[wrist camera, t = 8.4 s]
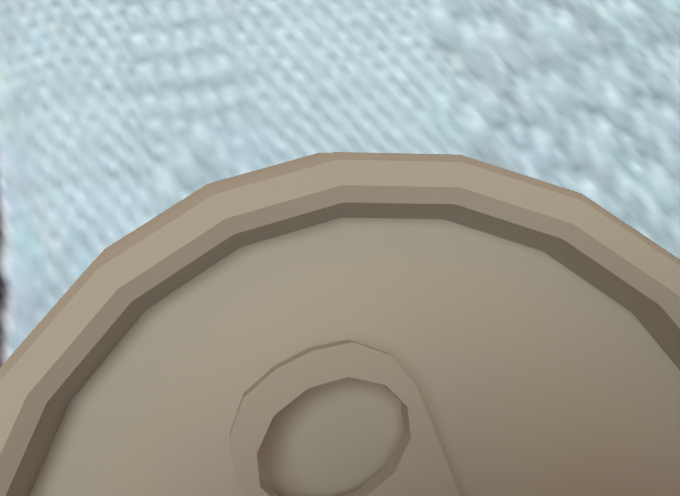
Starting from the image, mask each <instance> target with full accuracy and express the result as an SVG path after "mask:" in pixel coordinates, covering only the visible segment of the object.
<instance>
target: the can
mask: <svg viewBox="0 0 680 496" xmlns="http://www.w3.org/2000/svg"><path fill="white" fill-rule="evenodd" d="M0 496H680V259H678V258H677V257H675V256H674V255H672V254H671V253H669V252H668V251H666V250H665V249H663V248H662V247H660V246H659V245H657V244H656V243H655V242H653V241H652V240H650V239H649V238H647V237H646V236H644V235H643V234H641V233H640V232H638V231H637V230H635V229H634V228H632V227H631V226H629V225H628V224H626V223H625V222H623V221H622V220H620V219H619V218H617V217H616V216H614V215H613V214H611V213H610V212H608V211H607V210H605V209H604V208H602V207H601V206H599V205H598V204H596V203H595V202H593V201H592V200H590V199H589V198H587V197H586V196H584V195H583V194H581V193H578V192H575V191H572V190H569V189H565V188H562V187H559V186H556V185H553V184H550V183H547V182H544V181H541V180H537V179H534V178H531V177H528V176H525V175H522V174H519V173H516V172H513V171H509V170H506V169H503V168H500V167H497V166H494V165H491V164H488V163H485V162H481V161H478V160H475V159H472V158H469V157H466V156H463V155H446V154H399V153H352V152H333V153H317V154H313V155H310V156H306V157H303V158H299V159H295V160H292V161H288V162H285V163H281V164H278V165H274V166H270V167H267V168H263V169H260V170H256V171H253V172H249V173H245V174H242V175H238V176H235V177H231V178H228V179H224V180H220V181H217V182H213V183H210V184H207V185H205V186H204V187H202V188H201V189H199V190H197V191H196V192H194V193H193V194H191V195H190V196H188V197H186V198H185V199H183V200H182V201H180V202H178V203H177V204H175V205H174V206H172V207H171V208H169V209H167V210H166V211H164V212H163V213H161V214H160V215H158V216H156V217H155V218H153V219H152V220H150V221H149V222H147V223H145V224H144V225H142V226H141V227H139V228H137V229H136V230H134V231H133V232H131V233H130V234H128V235H126V236H125V237H123V238H122V239H120V240H119V241H117V242H115V243H114V244H112V245H111V246H109V247H108V248H106V249H104V251H103V252H102V253H101V254H100V255H99V256H98V257H97V259H96V260H95V261H93V262H92V264H91V265H90V266H89V267H88V268H87V269H86V270H85V272H84V273H83V274H82V275H81V276H80V277H79V278H78V280H77V281H76V282H75V283H74V284H73V285H72V286H71V288H70V289H69V290H68V291H67V292H66V293H65V294H64V296H63V297H62V298H61V299H60V300H59V301H58V302H57V304H56V305H55V306H54V307H53V308H52V309H51V310H50V312H49V313H48V314H47V315H46V316H45V317H44V318H43V320H42V321H41V322H40V323H39V324H38V325H37V326H36V328H35V329H34V330H33V331H32V332H31V333H30V334H29V336H28V337H27V338H26V339H25V340H24V341H23V342H22V344H21V345H20V346H19V347H18V348H17V349H16V350H15V352H14V353H13V354H12V355H11V356H10V357H9V358H8V360H7V361H6V362H5V363H4V364H3V365H2V366H1V368H0Z"/></svg>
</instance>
